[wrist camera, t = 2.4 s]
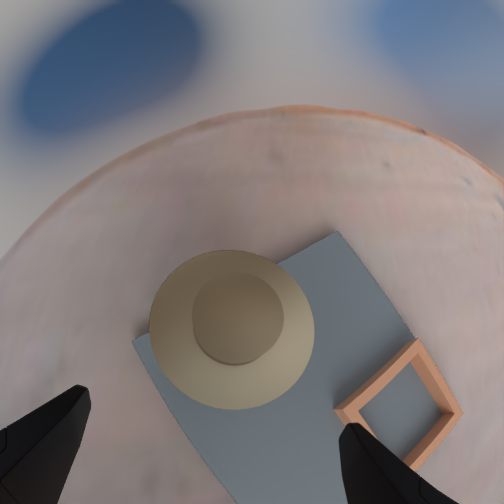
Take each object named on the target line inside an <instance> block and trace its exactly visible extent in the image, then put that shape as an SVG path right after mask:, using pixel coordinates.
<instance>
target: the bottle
mask: <svg viewBox="0 0 504 504" xmlns="http://www.w3.org/2000/svg"><path fill="white" fill-rule="evenodd" d="M149 336H150V342H151V347H152V350H153V353H154V356H155V358H156V361H157V363H158V365H159V367H160V368H161V370H162V371H163V373H164V374H165V376H166V377H167V378H168V379H169V380H170V382H171V383H172V384H173V385H174V386H175V387H177V388H178V389H179V390H180V391H181V392H182V393H184V394H185V395H187V396H188V397H190V398H192V399H194V400H196V401H198V402H200V403H202V404H205V405H208V406H211V407H215V408H220V409H229V410H240V409H249V408H253V407H257V406H261V405H263V404H266V403H268V402H271V401H272V400H274V399H276V398H278V397H279V396H281V395H282V394H284V393H285V392H286V391H287V390H289V389H290V388H291V387H292V386H293V385H294V384H295V383H296V382H297V380H298V379H299V377H300V376H301V375H302V373H303V372H304V370H305V368H306V366H307V364H308V362H309V359H310V356H311V354H312V349H313V345H314V321H313V315H312V311H311V308H310V305H309V303H308V300H307V298H306V296H305V294H304V293H303V291H302V289H301V288H300V286H299V285H298V284H297V282H296V281H295V280H294V279H293V278H292V277H291V276H290V275H289V274H288V273H287V272H286V271H285V270H284V269H282V268H281V267H280V266H278V265H277V264H275V263H274V262H272V261H270V260H268V259H266V258H264V257H262V256H259V255H256V254H253V253H249V252H244V251H236V250H221V251H214V252H209V253H205V254H202V255H199V256H197V257H195V258H192V259H190V260H189V261H187V262H185V263H183V264H182V265H181V266H179V267H178V268H177V269H176V270H174V271H173V272H172V273H171V274H170V275H169V276H168V278H167V279H166V280H165V281H164V283H163V284H162V285H161V287H160V289H159V291H158V292H157V294H156V297H155V299H154V301H153V304H152V308H151V312H150V319H149Z"/></svg>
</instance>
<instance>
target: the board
mask: <svg viewBox="0 0 504 504" xmlns="http://www.w3.org/2000/svg"><path fill="white" fill-rule="evenodd" d="M277 265H278V266H280V267H281V268H282V269H284V270H285V271H286V272H287V273H288V274H289V275H290V276H291V277H292V278H293V279H294V280H295V281H296V282H297V284H298V285H299V286H300V288H301V289H302V291H303V293H304V294H305V296H306V298H307V300H308V303H309V305H310V308H311V311H312V315H313V321H314V345H313V349H312V354H311V356H310V359H309V362H308V364H307V366H306V368H305V370H304V372H303V373H302V375H301V376H300V377H299V379H298V380H297V382H296V383H295V384H294V385H293V386H292V387H291V388H290V389H289V390H287V391H286V392H285V393H284V394H282V395H281V396H279V397H278V398H276V399H274V400H272V401H271V402H268V403H266V404H263V405H261V406H257V407H253V408H249V409H240V410H229V409H220V408H215V407H211V406H208V405H205V404H202V403H200V402H198V401H196V400H194V399H192V398H190V397H188V396H187V395H185V394H184V393H182V392H181V391H180V390H179V389H178V388H177V387H175V386H174V385H173V384H172V383H171V382H170V380H169V379H168V378H167V377H166V376H165V374H164V373H163V371H162V370H161V368H160V367H159V365H158V363H157V361H156V358H155V356H154V353H153V350H152V347H151V342H150V336H149V332H148V333H146V334H144V335H142V336H140V337H138V338H136V339H134V340H132V343H133V345H134V347H135V349H136V351H137V353H138V355H139V357H140V359H141V361H142V362H143V364H144V366H145V368H146V370H147V372H148V373H149V375H150V377H151V379H152V381H153V382H154V384H155V386H156V388H157V389H158V391H159V393H160V394H161V396H162V398H163V400H164V401H165V403H166V404H167V406H168V408H169V409H170V411H171V413H172V414H173V416H174V417H175V419H176V421H177V422H178V424H179V425H180V427H181V428H182V430H183V431H184V433H185V434H186V436H187V437H188V439H189V440H190V442H191V443H192V445H193V446H194V448H195V449H196V450H197V452H198V453H199V455H200V456H201V457H202V459H203V460H204V462H205V463H206V464H207V466H208V467H209V468H210V470H211V471H212V472H213V474H214V475H215V476H216V478H217V479H218V480H219V482H220V483H221V484H222V485H223V487H224V488H225V489H226V490H227V492H228V493H229V494H230V495H231V497H232V498H233V499H234V500H235V501H236V503H237V504H348V503H347V498H346V493H345V489H344V484H343V479H342V473H341V463H340V452H339V442H338V441H339V436H340V435H341V433H342V431H343V430H344V428H345V426H346V425H347V424H348V423H354V422H357V423H360V424H361V425H362V426H363V427H364V428H365V429H367V430H368V431H369V432H370V433H371V434H372V435H373V436H374V437H375V438H377V439H378V440H379V441H380V442H381V443H382V444H383V445H384V446H386V447H387V448H388V449H389V450H390V451H391V452H392V453H394V454H395V455H396V456H397V457H398V458H399V459H400V460H402V461H403V462H404V463H405V464H406V465H407V466H409V467H410V468H411V469H412V470H413V471H416V470H417V469H418V468H419V467H420V466H421V465H422V464H423V463H424V462H425V461H426V459H427V458H428V457H429V456H430V455H431V454H432V453H433V451H434V450H435V449H436V448H437V447H438V446H439V444H440V443H441V442H442V441H443V439H444V438H445V437H446V436H447V434H448V433H449V432H450V431H451V429H452V428H453V427H454V425H455V424H456V423H457V421H458V420H459V419H460V417H461V416H462V414H463V412H462V410H461V408H460V406H459V404H458V402H457V401H456V399H455V397H454V395H453V394H452V392H451V390H450V388H449V387H448V385H447V383H446V382H445V380H444V378H443V377H442V375H441V373H440V372H439V370H438V368H437V367H436V365H435V363H434V362H433V360H432V358H431V357H430V355H429V354H428V352H427V350H426V349H425V347H424V346H423V344H422V343H421V341H420V339H419V338H417V339H415V338H414V336H413V334H412V333H411V331H410V330H409V328H408V327H407V325H406V324H405V322H404V321H403V319H402V318H401V316H400V315H399V314H398V312H397V311H396V309H395V308H394V306H393V305H392V303H391V302H390V300H389V299H388V298H387V296H386V295H385V293H384V292H383V290H382V289H381V288H380V286H379V285H378V283H377V282H376V281H375V279H374V278H373V277H372V275H371V274H370V272H369V271H368V270H367V268H366V267H365V266H364V264H363V263H362V262H361V260H360V259H359V258H358V256H357V255H356V254H355V252H354V251H353V250H352V248H351V247H350V246H349V244H348V243H347V242H346V240H345V239H344V238H343V237H342V235H341V234H340V233H339V231H336V232H334V233H332V234H330V235H329V236H327V237H325V238H323V239H322V240H320V241H318V242H316V243H314V244H313V245H311V246H309V247H307V248H305V249H304V250H302V251H300V252H298V253H296V254H295V255H293V256H291V257H289V258H287V259H285V260H284V261H282V262H280V263H278V264H277Z"/></svg>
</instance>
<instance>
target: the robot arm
mask: <svg viewBox="0 0 504 504" xmlns="http://www.w3.org/2000/svg"><path fill="white" fill-rule="evenodd" d="M90 410H91V400H90V395H89V390H88V388H87V387H84V386H81V385H75V386H73V387H71V388H70V389H68V390H67V391H65V392H63V393H62V394H60V395H58V396H57V397H55V398H54V399H52V400H50V401H49V402H47V403H45V404H44V405H42V406H40V407H39V408H37V409H35V410H34V411H32V412H30V413H29V414H27V415H25V416H24V417H22V418H20V419H19V420H17V421H15V422H14V423H12V424H10V425H9V426H7V428H4V429H2V430H0V504H57V503H58V500H59V498H60V495H61V492H62V490H63V487H64V484H65V482H66V479H67V476H68V474H69V471H70V469H71V466H72V464H73V461H74V459H75V456H76V454H77V452H78V449H79V447H80V444H81V441H82V437H83V434H84V430H85V427H86V423H87V420H88V416H89V413H90ZM338 442H339V452H340V463H341V473H342V479H343V484H344V489H345V493H346V498H347V503H348V504H459V503H457V502H455V501H454V500H452V499H451V498H449V497H448V496H446V495H444V494H443V493H441V492H440V491H439V490H437V489H436V488H434V487H433V486H432V485H430V484H429V483H428V482H427V481H425V480H424V479H423V478H422V477H420V476H419V475H418V474H417V473H416V472H415V471H413V470H412V469H411V468H410V467H409V466H407V465H406V464H405V463H404V462H403V461H402V460H400V459H399V458H398V457H397V456H396V455H395V454H394V453H392V452H391V451H390V450H389V449H388V448H387V447H386V446H384V445H383V444H382V443H381V442H380V441H379V440H378V439H377V438H375V437H374V436H373V435H372V434H371V433H370V432H369V431H368V430H367V429H365V428H364V427H363V426H362V425H361V424H360V423H357V422H354V423H348V424H347V425H346V426H345V428H344V430H343V431H342V433H341V435H340V436H339V441H338Z"/></svg>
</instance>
